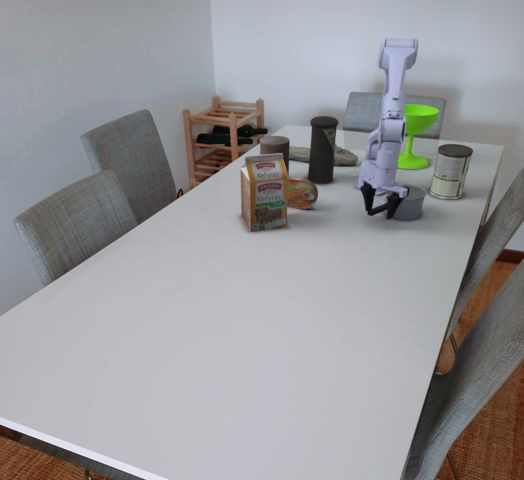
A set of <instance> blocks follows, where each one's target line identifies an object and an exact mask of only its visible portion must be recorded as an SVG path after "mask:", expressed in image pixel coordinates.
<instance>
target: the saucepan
mask: <svg viewBox="0 0 524 480" xmlns="http://www.w3.org/2000/svg"><path fill="white" fill-rule="evenodd" d="M399 185H400V186H402V187H404V188H406V189H408V191H407V196H405V198H404V199H403V200H402V202H401V203H400V204H399V206H398V208H397V210H396V212H395V214H394V216H393V218H392V219H393V220H394V219H395V220H398V221H413V220H417V219H419V218H420V217H421V215H422V210H423V205H424V201H425V198H426V196H427V192H426V190H424V189H423V188H421V187H418V186H415V185H411V184H399ZM390 195H392V193H390V192H387V191H385V198H384V203H383V204H380V205H378V206H375V207H372V209H370V210H368V211H366V213H367V216H370V217H373V216H375V215H379V214H381V213H383V214H384V215H385V216H387V210H388V202H387V196H390Z"/></svg>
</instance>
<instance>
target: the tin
mask: <svg viewBox="0 0 524 480" xmlns="http://www.w3.org/2000/svg"><path fill="white" fill-rule="evenodd" d="M318 198H319V190H318V187H317V185H316V183H313V182H311V181H309V180H308V179H305V178H300V177H299V178H298V177H293V176H289V177H288V201H287V207H290V208H296V209H301V210H307V209H308V210H309V209H310V208H312V207H313V206H314V205H315V204H316V202H317V200H318Z"/></svg>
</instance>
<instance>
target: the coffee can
mask: <svg viewBox="0 0 524 480" xmlns="http://www.w3.org/2000/svg"><path fill="white" fill-rule="evenodd" d="M436 154H437V155H436V158H435V164H434V168H433V173H432V178H431V183H430V188H429V191H428V192H429V194H430V195H431V196H433V197H435V198H438V199H441V200H457V199H460V198H462V196H463V192H464V188H465V184H466V180H467V177H468V171H469V168H470V164H471V159H472V157H473V156H472V155H473V154H474V149H473V148H472V147H470V146H468V145H465V144H460V143H459V144H457V143H446V144H441V145H439V146H438V148H437V153H436Z"/></svg>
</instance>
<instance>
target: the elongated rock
mask: <svg viewBox="0 0 524 480" xmlns="http://www.w3.org/2000/svg"><path fill="white" fill-rule="evenodd" d="M309 159H310V147H303V146H293V145H289V160H295V161H299V162H306V163H309ZM358 161H359V157H358V155H357V154H355V153H354V152H351V150H349V149H347V148H342V147H341V146H338V145H337V144H336V143H335V154H334V166H336V167H337V166H338V167H339V166H341V165H342V166H344V165H345V166H348V165H356V164H357V163H358Z"/></svg>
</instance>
